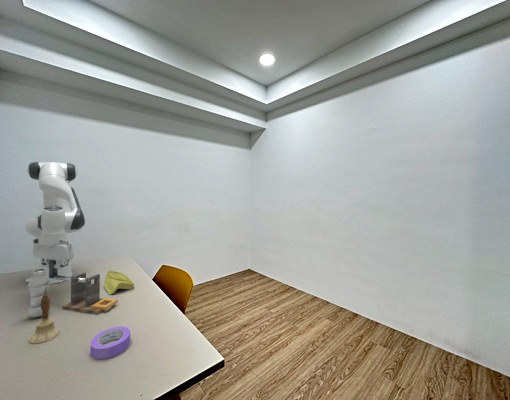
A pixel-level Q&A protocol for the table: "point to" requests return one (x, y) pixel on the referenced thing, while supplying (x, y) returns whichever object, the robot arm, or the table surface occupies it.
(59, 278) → the shaft
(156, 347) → the table surface
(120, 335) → the masking tape
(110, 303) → the frame
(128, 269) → the table surface
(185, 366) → the table surface
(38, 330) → the hand bell
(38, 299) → the plastic bottle
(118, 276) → the plastic component
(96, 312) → the shaft frame
